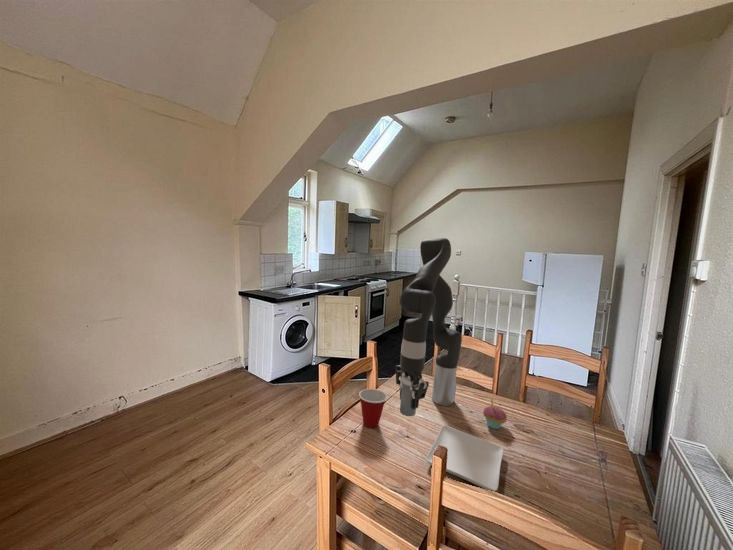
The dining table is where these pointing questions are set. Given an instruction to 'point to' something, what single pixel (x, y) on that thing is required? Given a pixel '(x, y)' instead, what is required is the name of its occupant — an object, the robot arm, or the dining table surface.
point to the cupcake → (494, 416)
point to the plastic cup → (372, 406)
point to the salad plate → (470, 457)
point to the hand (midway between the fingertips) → (408, 403)
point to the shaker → (407, 398)
